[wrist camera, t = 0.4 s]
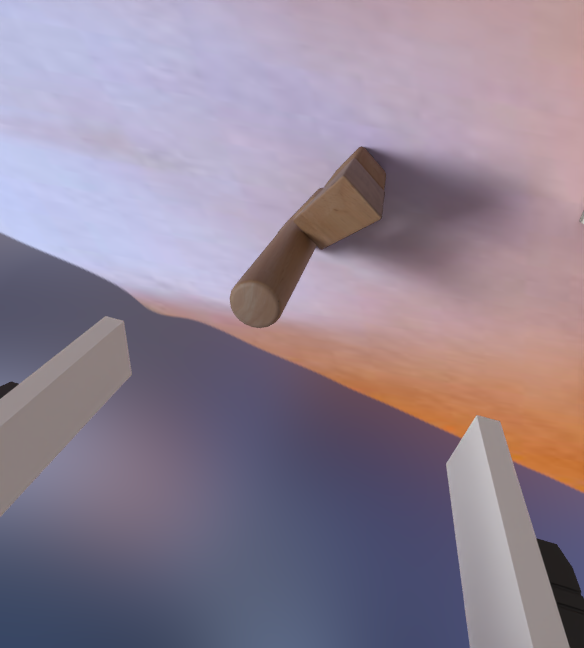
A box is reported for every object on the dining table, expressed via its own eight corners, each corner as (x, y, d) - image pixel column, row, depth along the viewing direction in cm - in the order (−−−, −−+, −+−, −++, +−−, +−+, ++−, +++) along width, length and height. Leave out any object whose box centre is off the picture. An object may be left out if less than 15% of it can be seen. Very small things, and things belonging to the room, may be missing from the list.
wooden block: (388, 174, 34) (381, 238, 19) (308, 247, 40) (256, 341, 25) (361, 143, 33) (333, 186, 19) (284, 223, 39) (216, 304, 24)
